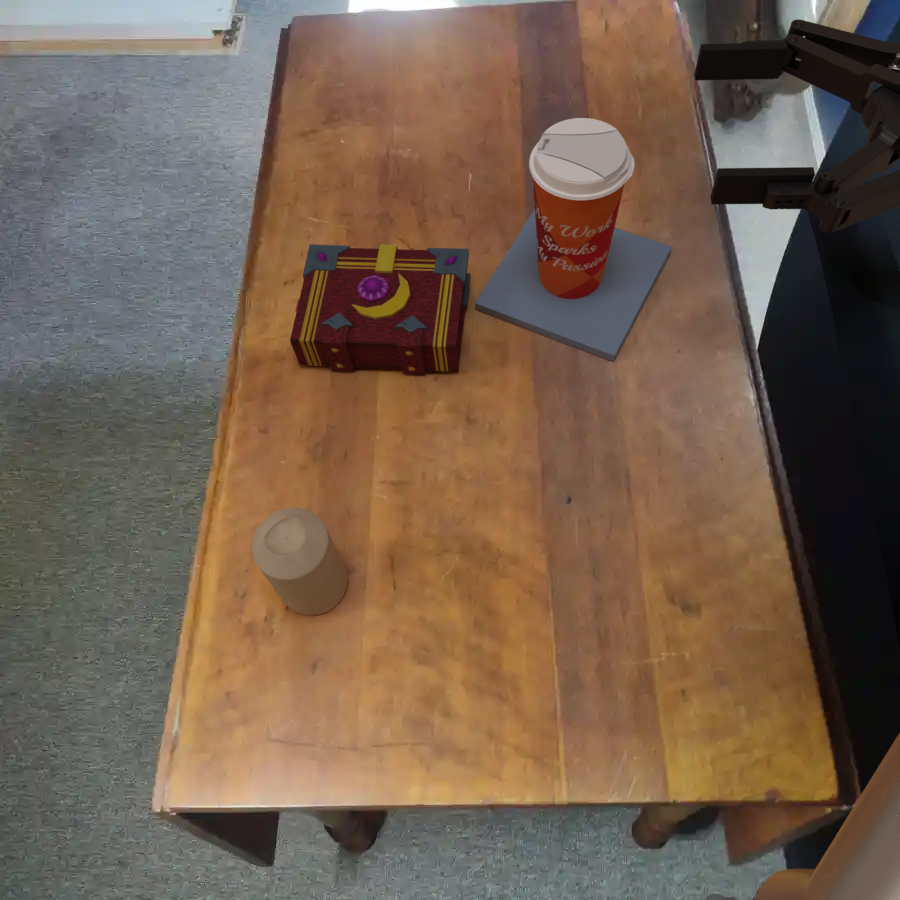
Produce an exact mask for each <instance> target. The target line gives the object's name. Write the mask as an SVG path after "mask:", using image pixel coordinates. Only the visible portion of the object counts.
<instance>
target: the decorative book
mask: <svg viewBox="0 0 900 900" xmlns="http://www.w3.org/2000/svg"><path fill="white" fill-rule="evenodd" d="M469 255H470V248H454V247H453V248H451V247H427V248H426V249H399V248H398V245H397V244H385V243H383V244H382V243H381V244H380V243H379V247H378V248H365V247H364V248H363V247H362V248H361V247H360V248H359V247H351V246H350V245H340V244H339V245H338V244H314V243H313V244H311V243H309V245H308V250H307V254H306V258H305V263H304V267H303V272H302V277H303V281H302V287H301V290H300V295H299V299H298V300H297V302H296V307H295V311H294V312H295V315H294V316H295V317H294V320H293V325H292V330H291V334H290V339H289V342H290V346H289V347H290V348H291V347H292V350H293V352H294V355H295V357H296V359H297V362H298V364H299V366H309V367H310V366H312V367H329V368H330V371H331V372H346V373H347V372H349V373H354V372H355V368H359V369H380V370H382V369H383V370H384V369H385V370H401V373H402V375H416V376H418V375H420V376H426V372H428V371H429V372H448V373H449V372H451V373H459V368H460V360H461V351H462V341H463V335H464V334H463V333H464V326H465V325H464V323H465V316H466V310H468V304H469V296H470V290H471V289H470V288H471V281H472V280H471V279H472V278H471V277H472V275H471V272H469V273H468V266H469V257H470V256H469Z"/></svg>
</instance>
